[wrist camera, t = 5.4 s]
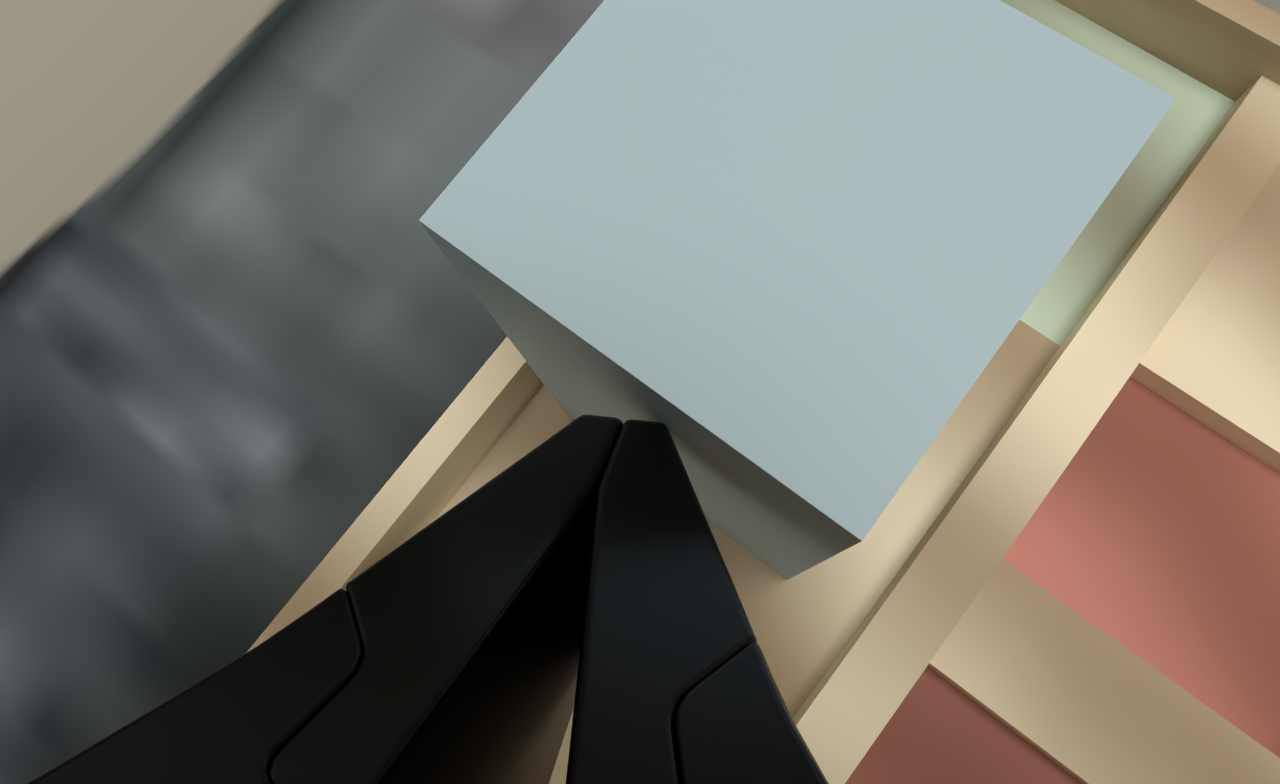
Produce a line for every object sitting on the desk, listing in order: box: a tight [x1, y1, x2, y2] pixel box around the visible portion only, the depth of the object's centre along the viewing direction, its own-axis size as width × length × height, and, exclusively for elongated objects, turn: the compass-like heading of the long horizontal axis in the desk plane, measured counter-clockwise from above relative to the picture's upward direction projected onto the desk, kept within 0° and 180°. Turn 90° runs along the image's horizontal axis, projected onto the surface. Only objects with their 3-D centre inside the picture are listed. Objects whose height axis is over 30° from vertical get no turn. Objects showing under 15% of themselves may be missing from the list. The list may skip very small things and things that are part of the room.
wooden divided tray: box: [246, 0, 1280, 784], centre depth 14 cm, size 21×14×2 cm, turn 142°
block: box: [419, 0, 1176, 580], centre depth 12 cm, size 4×4×8 cm
